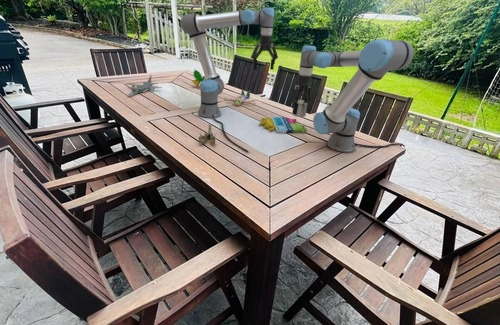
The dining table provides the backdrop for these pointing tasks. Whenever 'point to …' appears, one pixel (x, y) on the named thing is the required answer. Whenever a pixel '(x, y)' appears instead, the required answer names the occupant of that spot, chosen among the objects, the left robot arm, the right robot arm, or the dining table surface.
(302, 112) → the tin
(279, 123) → the sign
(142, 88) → the airplane
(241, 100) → the toy
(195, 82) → the ornament
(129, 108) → the dining table surface
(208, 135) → the jawbone
